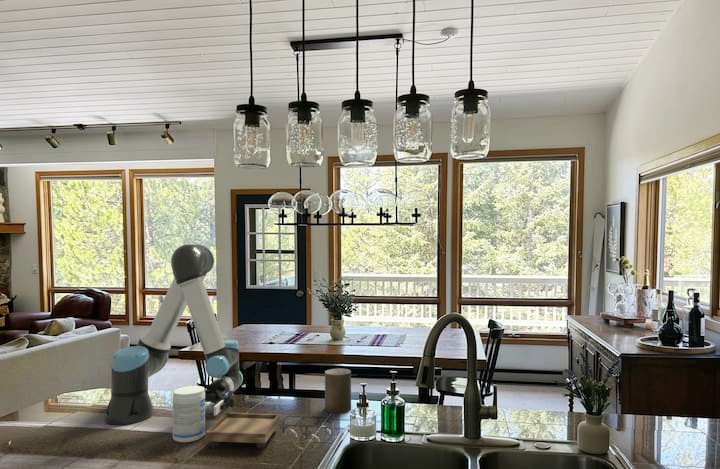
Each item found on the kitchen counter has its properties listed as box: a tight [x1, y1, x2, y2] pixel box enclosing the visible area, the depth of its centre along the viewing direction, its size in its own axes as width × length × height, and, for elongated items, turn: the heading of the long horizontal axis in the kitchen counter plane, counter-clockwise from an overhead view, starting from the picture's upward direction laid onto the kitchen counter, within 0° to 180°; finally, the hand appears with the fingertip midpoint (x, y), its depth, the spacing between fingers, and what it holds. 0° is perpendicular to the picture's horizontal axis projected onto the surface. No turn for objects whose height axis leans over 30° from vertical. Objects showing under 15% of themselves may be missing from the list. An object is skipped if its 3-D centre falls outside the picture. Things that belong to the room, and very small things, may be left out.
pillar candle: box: [324, 368, 352, 414], centre depth 167 cm, size 10×10×15 cm
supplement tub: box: [172, 385, 206, 443], centre depth 142 cm, size 10×10×15 cm
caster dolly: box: [205, 412, 281, 450], centre depth 140 cm, size 18×16×5 cm
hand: (193, 410), depth 143 cm, fingers open, 13 cm apart
